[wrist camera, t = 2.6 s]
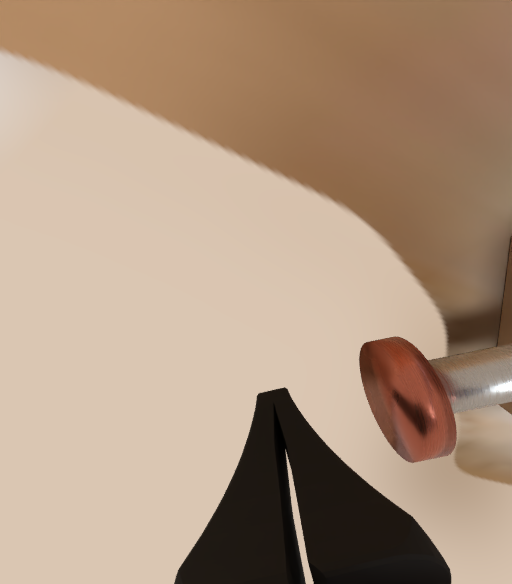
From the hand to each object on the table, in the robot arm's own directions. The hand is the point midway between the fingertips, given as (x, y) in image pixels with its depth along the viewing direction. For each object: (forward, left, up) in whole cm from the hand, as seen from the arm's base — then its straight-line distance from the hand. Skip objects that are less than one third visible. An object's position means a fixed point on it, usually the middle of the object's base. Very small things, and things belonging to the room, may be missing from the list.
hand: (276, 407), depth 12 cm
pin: (-11, 0, -2) cm, 11 cm away
